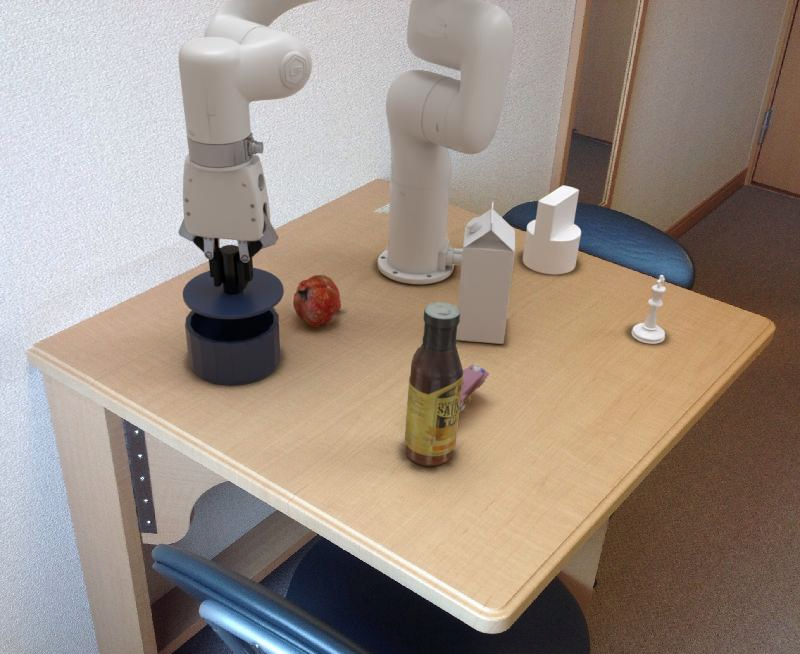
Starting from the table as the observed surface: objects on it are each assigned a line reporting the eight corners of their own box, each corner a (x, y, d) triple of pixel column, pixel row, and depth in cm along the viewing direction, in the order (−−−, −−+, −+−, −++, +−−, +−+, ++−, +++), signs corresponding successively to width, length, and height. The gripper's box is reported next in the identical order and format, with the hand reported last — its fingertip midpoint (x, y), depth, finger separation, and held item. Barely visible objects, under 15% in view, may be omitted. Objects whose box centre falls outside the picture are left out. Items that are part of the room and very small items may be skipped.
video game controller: (439, 436, 118) (464, 405, 113) (412, 413, 118) (437, 381, 114) (475, 400, 125) (501, 369, 120) (450, 377, 125) (474, 346, 120)
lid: (283, 271, 128) (280, 225, 124) (284, 321, 118) (282, 272, 114) (186, 274, 127) (181, 227, 123) (180, 325, 116) (173, 275, 112)
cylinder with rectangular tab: (538, 245, 161) (547, 180, 154) (584, 260, 157) (596, 194, 150) (512, 263, 155) (521, 196, 148) (560, 279, 151) (571, 211, 144)
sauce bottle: (440, 475, 109) (452, 332, 98) (394, 457, 112) (401, 316, 100) (464, 446, 114) (479, 307, 103) (420, 429, 117) (429, 291, 105)
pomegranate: (316, 316, 143) (269, 295, 135) (343, 279, 141) (298, 256, 133) (338, 344, 138) (291, 323, 130) (367, 305, 136) (321, 282, 129)
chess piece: (670, 335, 138) (685, 276, 132) (654, 347, 135) (668, 287, 129) (642, 323, 141) (655, 264, 135) (625, 334, 138) (637, 275, 132)
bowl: (279, 335, 134) (278, 295, 130) (281, 384, 123) (279, 343, 120) (192, 337, 132) (188, 297, 128) (186, 387, 122) (182, 345, 118)
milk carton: (503, 320, 140) (518, 203, 128) (503, 345, 134) (518, 224, 123) (457, 316, 140) (467, 199, 129) (454, 341, 134) (465, 220, 123)
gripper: (293, 142, 112) (299, 275, 123) (166, 132, 114) (182, 264, 125) (278, 165, 106) (285, 303, 117) (143, 154, 108) (163, 291, 119)
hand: (232, 282), depth 121 cm, fingers closed on lid, 2 cm apart
